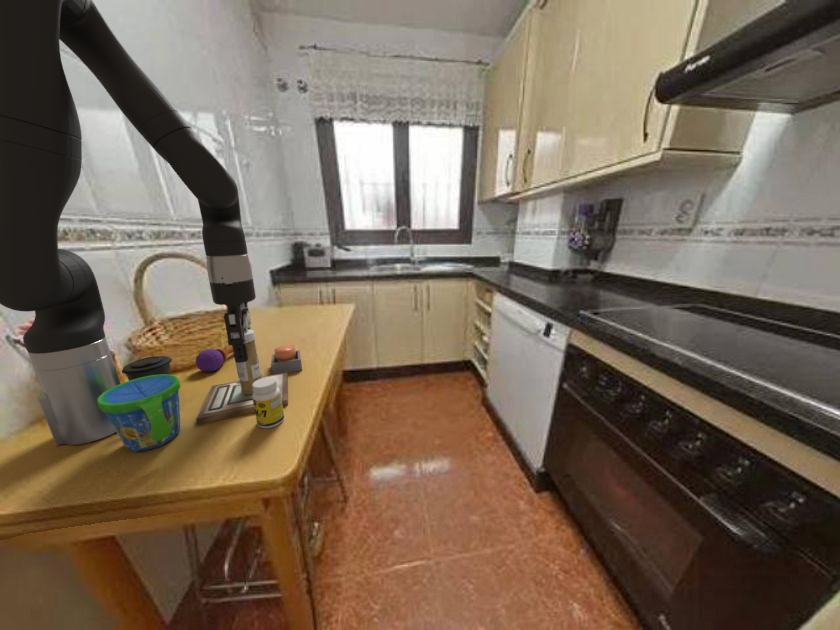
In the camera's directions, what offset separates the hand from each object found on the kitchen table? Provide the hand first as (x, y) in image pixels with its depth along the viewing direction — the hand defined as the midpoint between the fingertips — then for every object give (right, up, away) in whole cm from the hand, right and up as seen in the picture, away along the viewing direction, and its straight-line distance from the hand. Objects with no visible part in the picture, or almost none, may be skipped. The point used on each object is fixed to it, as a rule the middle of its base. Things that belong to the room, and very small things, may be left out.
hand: (244, 354), depth 67 cm
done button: (+2, -4, +16) cm, 17 cm away
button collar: (+2, -6, +17) cm, 18 cm away
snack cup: (-10, -14, -11) cm, 20 cm away
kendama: (-17, -5, +23) cm, 30 cm away
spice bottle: (0, -8, +2) cm, 9 cm away
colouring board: (0, -10, +2) cm, 10 cm away
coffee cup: (-19, -11, +1) cm, 22 cm away
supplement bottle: (+9, -12, -7) cm, 16 cm away
